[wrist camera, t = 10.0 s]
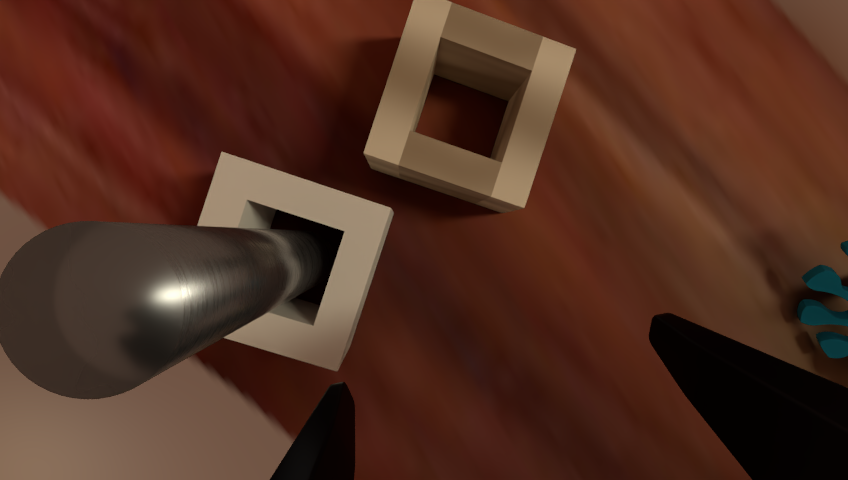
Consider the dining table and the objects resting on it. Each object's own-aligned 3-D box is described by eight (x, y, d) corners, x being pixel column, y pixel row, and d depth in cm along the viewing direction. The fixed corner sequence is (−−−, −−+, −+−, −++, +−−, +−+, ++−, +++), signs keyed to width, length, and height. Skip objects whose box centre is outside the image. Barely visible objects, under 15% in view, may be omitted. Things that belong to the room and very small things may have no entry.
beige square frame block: (502, 213, 19) (524, 208, 15) (371, 168, 18) (363, 153, 15) (544, 83, 19) (576, 49, 15) (414, 36, 18) (417, -11, 15)
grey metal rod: (324, 294, 18) (151, 420, 6) (269, 277, 18) (-31, 370, 6) (341, 240, 18) (206, 253, 6) (287, 223, 18) (26, 197, 6)
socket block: (350, 345, 18) (337, 371, 15) (212, 303, 18) (166, 320, 14) (393, 213, 18) (390, 208, 15) (257, 167, 18) (221, 151, 15)
